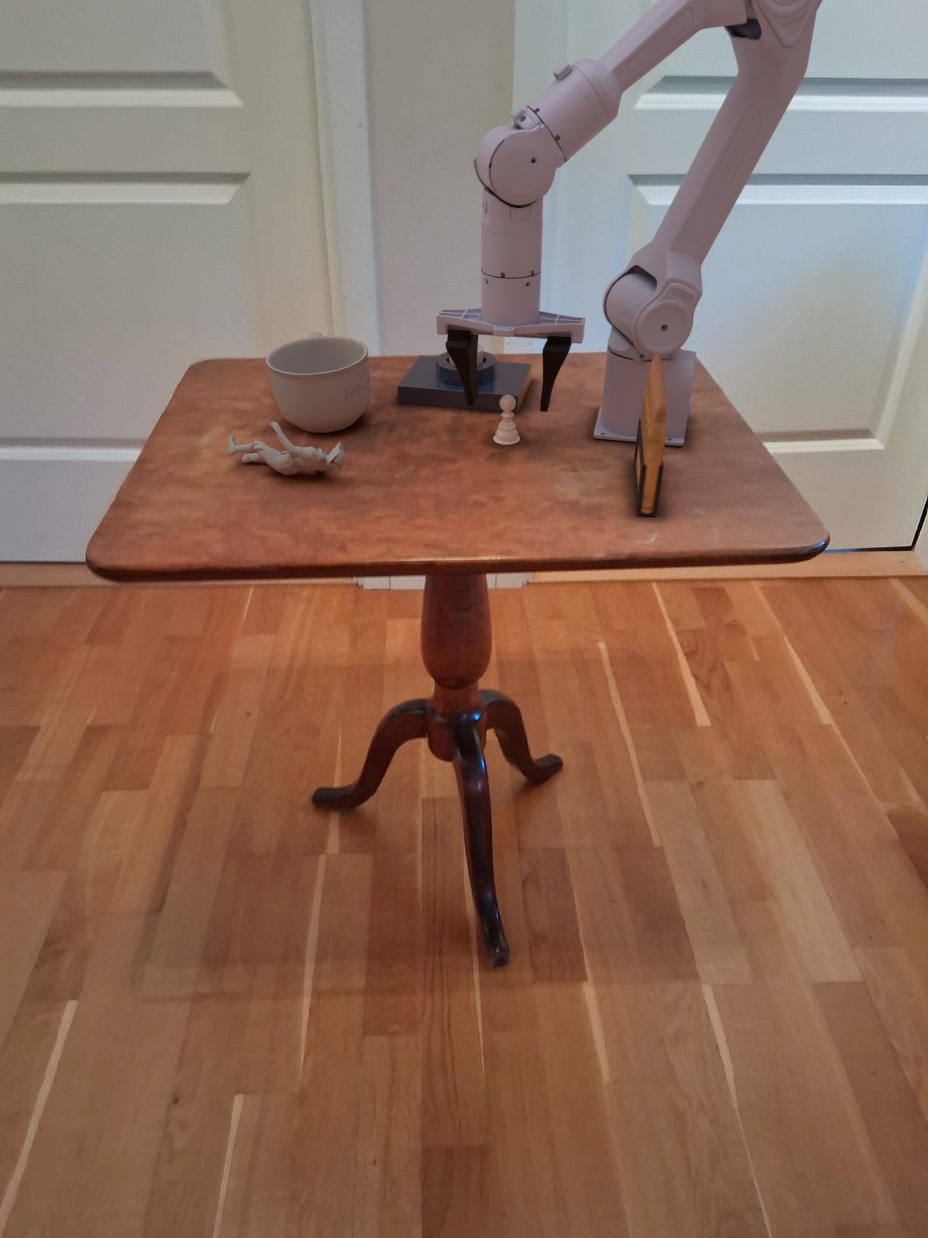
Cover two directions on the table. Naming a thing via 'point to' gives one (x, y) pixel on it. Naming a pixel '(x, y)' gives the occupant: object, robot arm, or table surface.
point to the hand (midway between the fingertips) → (508, 405)
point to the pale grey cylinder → (479, 356)
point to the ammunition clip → (650, 442)
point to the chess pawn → (507, 423)
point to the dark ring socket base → (443, 386)
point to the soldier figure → (289, 455)
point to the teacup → (320, 381)
